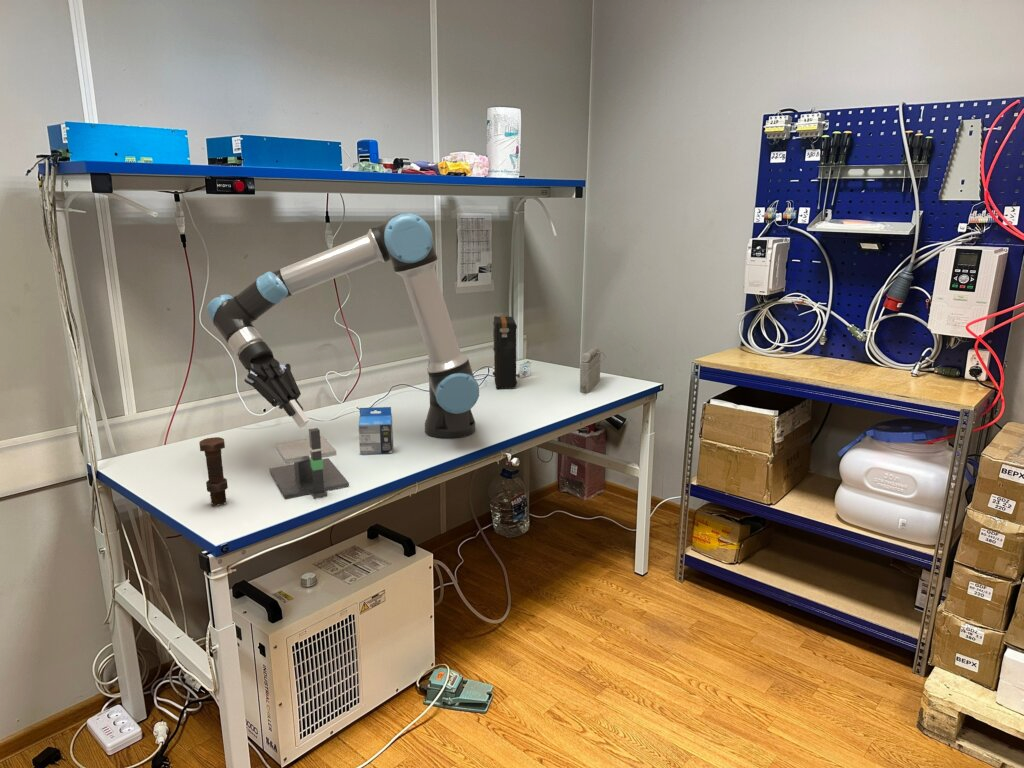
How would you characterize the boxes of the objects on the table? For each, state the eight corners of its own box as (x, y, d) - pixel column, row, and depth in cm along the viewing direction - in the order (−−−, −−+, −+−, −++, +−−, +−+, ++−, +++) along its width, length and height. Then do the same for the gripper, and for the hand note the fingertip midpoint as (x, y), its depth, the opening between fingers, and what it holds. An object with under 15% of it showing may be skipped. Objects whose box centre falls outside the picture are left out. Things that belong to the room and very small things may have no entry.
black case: (492, 379, 267) (491, 315, 260) (514, 379, 267) (514, 315, 261) (493, 390, 252) (493, 322, 245) (517, 389, 252) (517, 321, 246)
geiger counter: (590, 343, 263) (573, 357, 240) (606, 344, 261) (591, 358, 238) (589, 379, 267) (573, 395, 244) (606, 380, 264) (590, 397, 242)
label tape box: (359, 455, 187) (356, 411, 184) (361, 449, 191) (358, 407, 188) (392, 454, 188) (390, 410, 184) (393, 448, 192) (391, 406, 188)
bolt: (206, 500, 158) (198, 438, 155) (230, 496, 160) (223, 435, 157) (207, 510, 153) (199, 446, 149) (231, 506, 155) (224, 443, 152)
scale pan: (325, 461, 178) (323, 436, 177) (342, 482, 165) (340, 455, 163) (277, 469, 173) (275, 444, 171) (291, 492, 159) (288, 464, 158)
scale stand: (328, 461, 182) (324, 403, 178) (352, 490, 163) (348, 426, 159) (269, 472, 175) (263, 411, 171) (287, 504, 156) (281, 436, 152)
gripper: (266, 354, 179) (317, 425, 174) (222, 364, 168) (276, 440, 164) (278, 335, 175) (331, 408, 170) (234, 344, 164) (290, 422, 160)
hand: (304, 424), depth 167 cm, fingers closed
